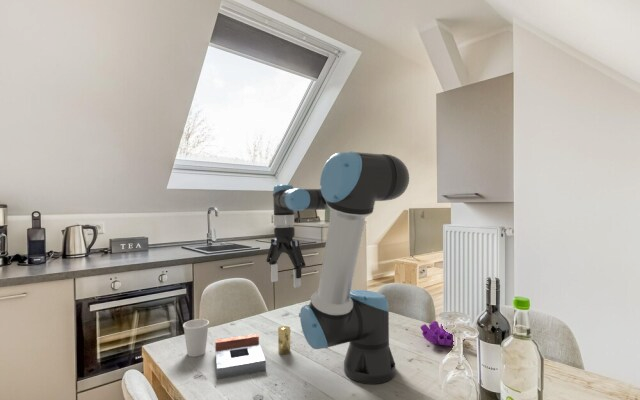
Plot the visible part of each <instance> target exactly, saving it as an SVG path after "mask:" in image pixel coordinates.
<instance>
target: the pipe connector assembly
mask: <svg viewBox="0 0 640 400" xmlns="http://www.w3.org/2000/svg"><path fill="white" fill-rule="evenodd" d="M442 324H443V323H440V324H439V322H438V321H436V320H433V321H431V322H430V323H429V324H428V325H427V324H426V323H424V324H422V325H421V326H420V329H421V331H422V336H423V337H424V339H425V340H426V341H427V342H429V343H431V344H434V345H440V346H454V345H453V342H454V341H453V335H452V334H450V333H448V332H446V331H445V330H444V329H443V326H442ZM466 339H467V338H466ZM466 339H464V340H463V343H464V342H465V341H466Z"/></svg>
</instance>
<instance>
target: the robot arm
mask: <svg viewBox="0 0 640 400" xmlns="http://www.w3.org/2000/svg"><path fill="white" fill-rule="evenodd" d="M319 183H320V184H319V186H320V188H302V187H295V188H294V186H293V185H292V184H276V185H274V186H273V191H272V192H273V193H272V197H273V226H274V228H273V230H274V231H273V236H274V238H271V240H270V247H269V250H268V253H267V257H266V263H268V264H269V267H270V268H269V269H270V282H271V283H275V282H279V271H278V269H279V267H278V266H279V265H278V260H279V258H280V257H281V254H282V253H285V254H287V255H288V257H289V259H290V261H291V264H292V265H293V269H292V270H293V272H292V273H293V274H292V275H293V276H292V277H293V288H294V289H296V288H301V287H302V280H301V278H302V269H303V268H306V267H307V266H306V262H305V259H304V256H303V254H302V250H301V247H300V241H299V240H298V239H297V240H293V238H294V237H295V235H296V234H295V230H296V229H295V227H294V225H295V212H300V211H301V212H302V211H319V210H320V211H323V210H324V211H325V210H328V211H329V210H330V217H329V223H328V228H327V234H326V241H325V247H324V253H323V259H322V265H321V271H320V277H319V281H318V289H317V290H315V291H313V293H312V294H311V297H310V301H309V302H310V305H309V304H304V306H302V307H301V308H300V311H299V313H300V317H299V321H300V325H301V329H302V333H303V336H304V339H305V341H306V342H307V344H308V345H309V346H310V347H311V348H312V349H314V350H322V349H328V348H332V347H334V346H339V345H343V344H348V343H349V345H348V347H347V351H346V354H345V358H344V360H343V371H344V374H345V376H347V377H348V378H350V379H351V380H353V381H356V382H359V383H362V384H369V385H370V384H371V385H377V384H383V383H386V382H389V381H391V380H392V379H393V378H394V377H395V376H396V363H395V360H394V357H393V352H392V350H391V347H390V333H389V332H390V328H389V327H390V325H389V324H390V322H389V319H390V318H389V317H390V316H389V315H390V314H389V312H390V309H389V300H388V298H387V296H385V295H384V294H382V293H380V292H376V291H373V290H366V289H365V290H364V289H352V286H353V281H354V275H355V270H356V265H357V261H358V255H359V250H360V245H361V241H362V236H363V231H364V225H365V220H366V218H367V217H368V216H370V215H372V214H373V213H374V209H375V208H374V207H375V205H376V204H375V203H376V202H381V201H382V202H384V201H385V202H386V201H393V200H395V199H398V198H400V197H401V196H402V195H403V194H404V193H405V192H406V191H407V190H408V189H407V188H408V186H409V184H410V174H409V169H408V167H407V165H406V164H405V163H404V162H403V161H402V160H401V159H400V158H398V157H396V156H394V155H392V154H383V153H381V154H380V153H369V152H367V153H366V152H355V151H347V152H343V151H341V152H340V151H339V152H337V153H334V154H332V155H331V156H330V157H329V158H328V159H327V160H326V162H325V163H324V166H323V167H322V170H321V175H320V181H319ZM351 289H352V290H351Z"/></svg>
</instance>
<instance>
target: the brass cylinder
mask: <svg viewBox="0 0 640 400" xmlns="http://www.w3.org/2000/svg"><path fill="white" fill-rule="evenodd" d="M277 334H278V337H277V339H278V340H277V341H278V342H277V343H278V354H279V355H282V356H284V355H289V354H290V353H291V327H290V326H288V325H283V326H282V325H281V326H279V327H278V330H277Z"/></svg>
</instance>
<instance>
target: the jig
mask: <svg viewBox="0 0 640 400" xmlns="http://www.w3.org/2000/svg"><path fill="white" fill-rule="evenodd" d="M214 342H215V343H214V344H215V346H214V348H215V366H216V367H215V369H216V379H217V380H221V379H225V378H232V377H238V376H242V375H248V374H253V373H259V372H264V371H267V366H266V365H267V363H266V362H267V361H266V358H265V355H264V353H263V350H262V347H261V344H260V337H259V334H258V333H253V334H247V335H239V336H232V337H227V338H226V337H225V338H219V339H215V341H214Z"/></svg>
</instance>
